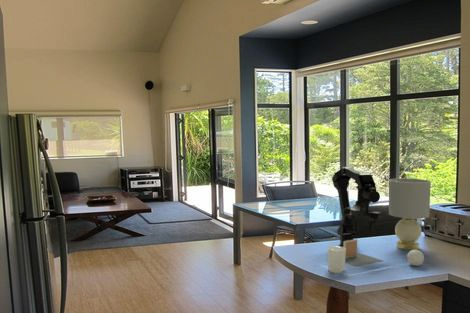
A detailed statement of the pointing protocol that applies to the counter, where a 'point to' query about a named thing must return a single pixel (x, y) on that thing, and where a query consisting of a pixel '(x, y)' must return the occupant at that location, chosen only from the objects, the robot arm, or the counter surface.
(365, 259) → the mat
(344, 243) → the tile
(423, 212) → the lamp
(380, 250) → the counter surface
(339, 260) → the white cup
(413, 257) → the seamed sphere
